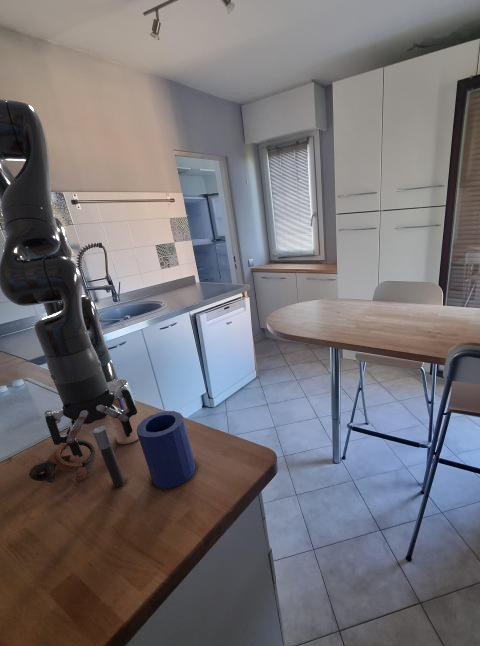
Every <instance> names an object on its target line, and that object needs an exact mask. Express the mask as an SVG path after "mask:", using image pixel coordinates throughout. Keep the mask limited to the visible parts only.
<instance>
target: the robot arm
mask: <svg viewBox="0 0 480 646" xmlns="http://www.w3.org/2000/svg"><path fill="white" fill-rule="evenodd" d="M6 161H23V162H24V163H23V165H22V167H21V168H20V170H19V171H18V173H17V174H16V175H14V173H13V172H12V171H11V169H10V167H9V166H8V165H7V163H6ZM52 199H53V198H52V177H51V165H50V152H49V144H48V141H47V136H46V132H45V130H44V126H43V123H42V121H41V119H40V116H39V114H38V112H37V111H36V110H35V108H34V107H32V105H30V104H28V103H25V102H22V101H18V100H11V99H10V100H9V99H8V100H7V99H0V202H1V203H0V209H1V217H2V222H3V227H4V233H5V241H4V247H3V251H2V255H1V258H0V290H1V292H2V294H3V296H4V297H5V298H6V299H7V300H9V301H10V302H11V303H13V304H14V305H18V306H22V307H30V306H31V307H32V306H36V305H37V306H38V305H43V307H44V310H45V313H46V317H43V318H41V319H39V320H37V321H36V322H35V324H34V332H35V335H36V337H37V340H38V342H39V345H40V347H41V350H42V352H43V355H44V357H45V361H46V366H47V369H48V372H49V374H50V378H51V380H52V381H53V384H54V386H55V388H56V391H57V394H58V396H59V398H60V401H61V403H62V408H61V409H57V410H54V411H52V410H46V411H45V412H44V419H45V423H46V425H47V428H48V431H49V434H50V437H51V441H52V442H53V444H54V445H55V446H60V445H62V444H63V443H67V444H68V445H69V446H68V447H69V449H70V451H71V454H72V455H73V456H74V457H78V458H82V457H84V453H83V451H82V449H81V445H80V446H79V444H78V441H77V440H78V439H77V436H78V433H79V432H80V431H81V429H82V427H83V425H90V424H93V423H94V422H96V421H100V420H103V419H106V417H107V415H109V416H111V417H113V418H117V419H119V420H120V421H121V424H122V427H123V430H124V433H125V435H126V437H129V436H130V433H132V427H131V424H130V421H129V419H130V417H131V416H133V415H136V416H137V414H138V410H137V408H136V407H137V406H136V404H135V405H134V402H133V400H132V397H131V395H130V392H129V390H128V389H127V388H126V386H121V387H120V389H119V390H116V391H114V392H111V391H110V390H109V388H108V385H107V382H109V381H113V380H118V379H119V378H118V375H117V372H116V369H115V366H114V363H113V360H112V357H111V353H110V351H109V347H108V345H107V342H106V339H105V336H104V333H103V329H102V325H101V321H100V317H99V313H98V310H97V307H96V305H95V302H94V300H93V299H92V298H91V297H90V296H89V295H82V294H83V279H82V274H81V271H80V268H79V267H78V265H77V264H76V263H75V262H74V261H73V260H72V256H73V252H72V248H71V245H70V241H69V239H68V235H67V232H66V229H65V227H64V224H63V223H62V221H60V219H59V218H58V217H57V216H56V215H55V213H54V207H53V201H52ZM115 397H118V398H119V399H120V400H124V401H125V403H126V406H127V408H128V409H126V410H125V411H122V410H120V409H118V408H117V407H115V406H114V405H112V404H113V402H114V399H115ZM63 416H64V417H66V418H68V419H70V421H69V424H68V426H67V429H66V432H63V433H61V432H60V430H59V427H58V424H60V423H61V421H62V417H63Z"/></svg>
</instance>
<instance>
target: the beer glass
mask: <svg viewBox="0 0 480 646" xmlns="http://www.w3.org/2000/svg"><path fill="white" fill-rule="evenodd" d="M107 385H108V388H109V390H110V391H111V392H114V391H116V390H119V389H120V387H121V386H126V388H127V389H128V390H129V392H130V395H131V397H132V400H133V402H134V405H135V406H136V402H135V401H136V400H135V397H134V394H133V392H132V391H133V390H132V389H131V386H130V385H129V382H128V380H127V379H121V378H120V379H119V378H118V380H113V381H109V382H107ZM112 405H114V406H115V407H117V408H118V409H120V410H122V411H125V410H126V409H128V408H127V406H126V403H125V401H124V400H120V399H119V398H118V397H115V399H114V402H113V404H112ZM106 417H107V419H108V420H109V422H110V424H111V425H112V427H113V428H114V431H115V438H116V439H115V440H116V442H117V444H119V445H129V444H131V443H134V442H136V441H139V438H138V435H137V431H136V430H137V427H138V425H139V423H138V418H137V414H136V415H133V416H131V417H130V419H129V421H130V424H131V427H132V433H130V436H129V437H126V435H125V433H124V430H123V427H122V424H121V421H120V420H119V419H117V418H113V417H111V416H109V415H107V416H106Z"/></svg>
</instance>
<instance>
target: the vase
mask: <svg viewBox="0 0 480 646" xmlns="http://www.w3.org/2000/svg"><path fill="white" fill-rule="evenodd" d="M136 431H137V435H138V438H139V439H138V441H139V443H140V447H141V450H142V454H143V457H144V459H145V462H146V466H147V468H148V471H149V474H150V478H151V479H152V483H153V484H154V486H156V487H157V488H160V489H173V488H177V487H178V486H181V485H183V484H185V483H186V482H187V481H189V480H190V478H191V477H193V475H194V474H195V471H196V465H195V459H194V455H193V451H192V447H191V443H190V438H189V434H188V430H187V426H186V423H185V418H184V416H183V415H182V414H181V413H180V412H178V411H175V410H166V411H165V410H164V411H161V412H160V411H159V412H156V413H154V414H151V415H149V416H147V417H146V418H144V419H143V420H141V422H140V423H138V427H137V430H136Z"/></svg>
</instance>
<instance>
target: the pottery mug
mask: <svg viewBox="0 0 480 646" xmlns="http://www.w3.org/2000/svg"><path fill="white" fill-rule="evenodd" d="M77 441H78V444H79V446H80V447H81V446H83V447H86V448H87V449H88V450H89V452H90V454H89V456H88V457H87V458H86V459H84V460H83V461H81V464H82V465H80V466H77V463H76V462H71V456H72V455H71V454H66V455H62V453H63V451H65V450H66V449H67V448H68V447H69V445H68V444H67V443H61V444H60V445H58V447H57V448H56V449H55V450H53V452H52V453H51V454H50V455H49V457H48V458H47V459H46V460H45V461H42V462H39V463H37V464H35V465H34V466H32V468H30V470H29V472H28V477H29V478H30V479H31V480H33V481H35V482H36V481H37V482H44V481H45V482H48V483H53V482H54V479H53V474H54V472H55V471H56V470H59V471H62V472H67V473H71V474H73V473H74V474H76V477H75V481H76V482H80V481H84V480H85V479H86V477H87V474H89V473H90V472H91V471H92V469H93V468H94V466H95V464H96V462H97V453H96V449H95V447H94V445H93V444H92V443H91V442H89V441H87V440H85V439H77Z"/></svg>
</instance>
